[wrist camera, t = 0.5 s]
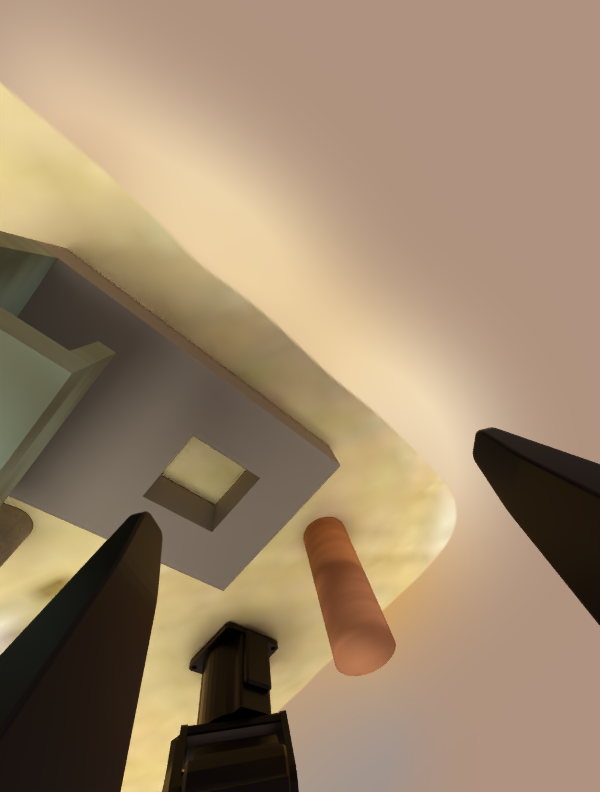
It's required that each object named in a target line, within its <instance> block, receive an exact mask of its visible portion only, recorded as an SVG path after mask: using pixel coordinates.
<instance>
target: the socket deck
mask: <svg viewBox="0 0 600 792" xmlns="http://www.w3.org/2000/svg"><path fill="white" fill-rule="evenodd" d="M34 241H35V242H37V243H38V244H40V245H41V246H42V247H44V248H45V249H46V250H48V251H49V252H50V253H52V254H53V255H55V256H56V257H57V260H56V261H55V263H54V264H53V266H52V267H51V268H50V270H49V271H48V273H47V274H46V276H45V277H44V279H43V280H42V282H41V283H40V284H39V286H38V287H37V289H36V290H35V292H34V293H33V295H32V296H31V298H30V299H29V301H28V302H27V303H26V305H25V306H24V308H23V309H22V311H21V312H20V314H19V315H18V317H17V318H19V319H20V320H22V321H24V322H25V323H27V324H28V325H30V326H31V327H33V328H34V329H36V330H38V331H39V332H41V333H42V334H44V335H45V336H47V337H49V338H50V339H52V340H53V341H55V342H56V343H58V344H59V345H61V346H63V347H64V348H66V349H67V350H69V351H71V350H74V349H77V348H80V347H83V346H86V345H89V344H92V343H95V342H98V341H99V342H101V343H102V344H104V345H105V346H107V347H108V348H110V349H111V350H112V351H114V352H115V353H116V354H115V355H114V356H113V358H112V359H111V360H110V362H109V363H108V364H107V366H106V367H105V368H104V370H103V371H102V372H101V374H100V375H99V376H98V378H97V379H96V380H95V381H94V383H93V384H92V385H91V387H90V388H89V389H88V391H87V392H86V393H85V395H84V396H83V397H82V399H81V400H80V401H79V403H78V404H77V405H76V407H75V408H74V409H73V411H72V412H71V413H70V415H69V416H68V417H67V419H66V420H65V421H64V423H63V424H62V425H61V427H60V428H59V429H58V431H57V432H56V433H55V435H54V436H53V437H52V439H51V440H50V441H49V443H48V444H47V445H46V446H45V448H44V449H43V450H42V452H41V453H40V454H39V456H38V457H37V458H36V460H35V461H34V462H33V464H32V465H31V466H30V468H29V469H28V470H27V472H26V473H25V474H24V476H23V477H22V478H21V480H20V481H19V482H18V484H17V485H16V486H15V488H14V489H13V490H12V492H11V493H10V494H9V496H10V497H13V498H15V499H17V500H19V501H22V502H24V503H26V504H28V505H31V506H33V507H35V508H37V509H40V510H42V511H44V512H46V513H49V514H51V515H53V516H55V517H58V518H60V519H62V520H64V521H67V522H69V523H71V524H73V525H76V526H78V527H80V528H82V529H85V530H87V531H89V532H92V533H94V534H96V535H98V536H101V537H103V538H105V539H107V540H108V539H109V538H110V537H111V535H112V534H113V533H114V532H115V531H116V530H117V529H118V528H119V527H120V526H121V525H122V524H123V522H124V521H125V520H126V519H127V518H128V517H129V516H131V515H132V514H136V513H140V512H144V511H147V512H149V513H150V514H151V515H152V517H153V518H154V520H155V521H156V523H157V524H158V526H159V528H160V529H161V531H162V536H163V541H162V552H161V564H164V565H166V566H168V567H170V568H173V569H175V570H177V571H180V572H182V573H184V574H186V575H189V576H191V577H193V578H195V579H198V580H200V581H202V582H204V583H207V584H209V585H211V586H213V587H216V588H218V589H220V590H222V591H224V590H225V589H226V588H227V587H228V585H229V584H230V583H231V582H232V581H233V580H234V579H235V578H236V577H237V576H238V575H239V574H240V573H241V572H242V570H243V569H244V568H245V567H246V566H247V565H248V564H249V563H250V562H251V561H252V560H253V559H254V558H255V557H256V555H257V554H258V553H259V552H260V551H261V550H262V549H263V548H264V547H265V546H266V545H267V544H268V543H269V542H270V540H271V539H272V538H273V537H274V536H275V535H276V534H277V533H278V532H279V531H280V530H281V529H282V528H283V527H284V525H285V524H286V523H287V522H288V521H289V520H290V519H291V518H292V517H293V516H294V515H295V514H296V513H297V512H298V510H299V509H300V508H301V507H302V506H303V505H304V504H305V503H306V502H307V501H308V500H309V499H310V498H311V497H312V495H313V494H314V493H315V492H316V491H317V490H318V489H319V488H320V487H321V486H322V485H323V484H324V483H325V482H326V480H327V479H328V478H329V477H330V476H331V475H332V474H333V473H334V472H335V471H336V470H337V469H338V468H339V467H340V464H339V462H338V461H337V459H336V457H335V455H334V454H333V452H332V450H331V449H330V447H329V446H328V445H327V444H325V443H324V442H323V441H321V440H320V439H319V438H317V437H316V436H315V435H313V434H312V433H311V432H309V431H308V430H307V429H305V428H304V427H303V426H301V425H300V424H299V423H297V422H296V421H295V420H293V419H292V418H291V417H289V416H288V415H287V414H285V413H284V412H283V411H281V410H280V409H279V408H277V407H276V406H275V405H273V404H272V403H271V402H269V401H268V400H267V399H265V398H264V397H263V396H262V395H260V394H259V393H258V392H256V391H255V390H254V389H252V388H251V387H250V386H248V385H247V384H246V383H244V382H243V381H242V380H240V379H239V378H238V377H236V376H235V375H234V374H232V373H231V372H230V371H228V370H227V369H226V368H224V367H223V366H222V365H220V364H219V363H218V362H216V361H215V360H214V359H212V358H211V357H210V356H208V355H207V354H206V353H204V352H203V351H202V350H200V349H199V348H198V347H196V346H195V345H194V344H192V343H191V342H190V341H188V340H187V339H186V338H184V337H183V336H182V335H180V334H179V333H178V332H176V331H175V330H174V329H172V328H171V327H170V326H169V325H167V324H166V323H165V322H163V321H162V320H161V319H159V318H158V317H157V316H155V315H154V314H153V313H151V312H150V311H149V310H147V309H146V308H145V307H143V306H142V305H141V304H139V303H138V302H137V301H135V300H134V299H133V298H131V297H130V296H129V295H127V294H126V293H125V292H123V291H122V290H121V289H119V288H118V287H117V286H115V285H114V284H113V283H111V282H110V281H109V280H107V279H106V278H105V277H103V276H102V275H101V274H99V273H98V272H97V271H95V270H94V269H93V268H91V267H90V266H89V265H87V264H86V263H85V262H83V261H82V260H81V259H80V258H78V257H77V256H76V255H74V254H73V253H72V252H70V251H69V250H68V249H66V248H62V247H59V246H55V245H51V244H47V243H43V242H40V241H36V240H34ZM192 436H195V437H196V438H198V439H199V440H201V441H202V442H204V443H206V444H207V445H209V446H210V447H212V448H214V449H215V450H217V451H218V452H220V453H221V454H223V455H225V456H226V457H228V458H229V459H231V460H233V461H234V462H236V463H237V464H239V465H240V466H242V467H244V468H245V469H247V470H246V471H245V472H244V474H243V475H242V476H241V477H240V478H239V479H238V480H237V481H236V483H235V484H234V485H233V486H232V487H231V488H230V489H229V491H228V492H227V493H226V494H225V495H224V496H223V497H222V498H221V500H220V501H219V502H218V503H217V504H216V505H213V504H212V503H210V502H208V501H206V500H204V499H203V498H201V497H199V496H197V495H195V494H194V493H192V492H190V491H188V490H186V489H185V488H183V487H181V486H179V485H177V484H175V483H174V482H172V481H170V480H168V479H166V478H165V477H163V476H161V474H162V472H163V471H164V470H165V469H166V468H167V466H168V465H169V464H170V463H171V462H172V460H173V459H174V458H175V457H176V456H177V454H178V453H179V452H180V451H181V450H182V448H183V447H184V446H185V445H186V444H187V442H188V441H189V440H190V439H191V438H192Z"/></svg>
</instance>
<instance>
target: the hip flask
mask: <svg viewBox="0 0 600 792" xmlns="http://www.w3.org/2000/svg"><path fill="white" fill-rule="evenodd" d="M32 529H33V523H32V520H31V518H30V517H29V516H28V515H27V514H26V513H25V512H24V511H22V510H20V509H17V508H15V507H12V506H9V505H6V504H2V505H1V506H0V567H1V566H2V565H3V563H4V562H5V561H6V560H7V559H8V558H9V557H10V556H11V554H12V553H13V552H14V551H15V550H16V549H17V548H18V547H19V545H20V544H21V543H22V542H23V541H24V540H25V539H26V537H27V536H28V535H29V534H30V533H31V531H32Z"/></svg>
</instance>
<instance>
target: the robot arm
mask: <svg viewBox="0 0 600 792" xmlns="http://www.w3.org/2000/svg"><path fill="white" fill-rule="evenodd" d="M473 457H474V460H475V462H476V463H477V465H478V467H479V468H480V470H481V471H482V472H483V474H484V476H485V477H486V478H487V480H488V482H489V483H490V485H491V486H492V488H493V489H494V491H495V493H496V494H497V496H498V497H499V499H500V500H501V502H502V503H503V505H504V506H505V508H506V509H507V510H508V512H509V513H510V514H511V516H512V517H513V518H514V519H515V521H516V522H517V523H518V524H519V526H520V527H521V528H522V529H523V531H524V532H525V533H526V534H527V536H528V537H529V538H530V539H531V541H532V542H533V543H534V544H535V546H536V547H537V548H538V549H539V551H540V552H541V553H542V554H543V556H544V557H545V558H546V559H547V560H548V562H549V563H550V564H551V565H552V567H553V568H554V569H555V570H556V572H557V573H558V574H559V575H560V577H561V578H562V579H563V580H564V582H565V583H566V584H567V585H568V587H569V588H570V589H571V590H572V591H573V593H574V594H575V595H576V597H577V598H578V599H579V600H580V602H581V603H582V604H583V605H584V607H585V608H586V609H587V610H588V611H589V613H590V614H591V615H592V616H593V618H594V619H595V620H596V622H597V623H598V624H599V625H600V464H598V463H595V462H592V461H589V460H586V459H583V458H581V457H578V456H575V455H571V454H569V453H566V452H563V451H560V450H558V449H554V448H552V447H549V446H546V445H543V444H540V443H537V442H534V441H532V440H528V439H526V438H523V437H520V436H517V435H514V434H511V433H509V432H506V431H503V430H500V429H497V428H492V427H491V428H486V429H482V430H479V431H477V433H476V435H475V442H474V449H473ZM162 541H163V536H162V531H161V529H160V528H159V526H158V524H157V523H156V521H155V520H154V518H153V517H152V515H151V514H150V513H149V512H147V511H144V512H140V513H136V514H132V515H131V516H129V517H128V518H127V519H126V520H125V521H124V522H123V524H122V525H121V526H120V527H119V528H118V529H117V530H116V531H115V532H114V533H113V534H112V535H111V537H110V538H109V539H108V540H107V541H106V542H105V543H104V544H103V545H102V546H101V547H100V548H99V549H98V551H97V552H96V553H95V554H94V555H93V556H92V557H91V558H90V559H89V560H88V561H87V562H86V563H85V565H84V566H83V567H82V568H81V569H80V570H79V571H78V572H77V573H76V574H75V575H74V576H73V577H72V579H71V580H70V581H69V582H68V583H67V584H66V585H65V586H64V587H63V588H62V589H61V590H60V592H59V593H58V594H57V595H56V596H55V597H54V598H53V599H52V600H51V601H50V602H49V603H48V604H47V606H46V607H45V608H44V609H43V610H42V611H41V612H40V613H39V614H38V615H37V616H36V617H35V618H34V620H33V621H32V622H31V623H30V624H29V625H28V626H27V627H26V628H25V629H24V630H23V631H22V632H21V634H20V635H19V636H18V637H17V638H16V639H15V640H14V641H13V642H12V643H11V644H10V645H9V646H8V648H7V649H6V650H5V651H4V652H3V653H2V654H1V655H0V792H121V786H122V781H123V776H124V771H125V765H126V760H127V755H128V750H129V745H130V739H131V734H132V729H133V724H134V719H135V713H136V708H137V703H138V698H139V693H140V687H141V682H142V677H143V672H144V667H145V661H146V656H147V651H148V646H149V640H150V635H151V630H152V625H153V620H154V614H155V609H156V603H157V596H158V586H159V575H160V564H161V552H162ZM277 649H278V643H277V641H275V640H272V639H270V638H267V637H265V636H262V635H260V634H257V633H255V632H252V631H250V630H248V629H245V628H243V627H240V626H238V625H235V624H233V623H228V624H226V625H225V626H224V627H223V628H222V629H221V630H220V631H219V632H218V633H217V634H216V635H215V636H214V638H213V639H212V640H211V641H210V642H209V643H208V644H207V645H206V646H205V647H204V648H203V649H202V650H201V651H200V652H199V653H198V654H197V655H196V656H195V657H194V658H193V660H192V661H191V662H190V666H189V669H190V670H191V671H194V672H197V673H201V674H202V681H201V691H200V701H199V710H198V720H197V725H192V726H188V725H181V730H180V735H178V737H177V738H175V739H174V740H172V741H171V746H170V752H169V758H168V765H167V770H166V776H165V780H164V785H163V790H162V792H299V791H298V779H297V771H296V764H295V759H294V753H293V748H292V742H291V736H290V731H289V725H288V719H287V714H286V710H284V711H280V712H279V713H274V714H271V703H270V690H271V675H270V662H269V657H270V656H271V655H272V654H273V653H274V652H275V651H276V650H277Z"/></svg>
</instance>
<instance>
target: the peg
mask: <svg viewBox="0 0 600 792" xmlns="http://www.w3.org/2000/svg"><path fill="white" fill-rule="evenodd" d="M304 543H305V547H306V551H307V555H308V559H309V563H310V567H311V571H312V575H313V579H314V583H315V587H316V591H317V595H318V599H319V603H320V607H321V611H322V615H323V618H324V622H325V626H326V630H327V634H328V638H329V642H330V646H331V650H332V654H333V658H334V661H335V666H336V668H337V669H338V671H339V672H341V673H343V674H345V675H349V676H360V675H365V674H368V673H371V672H373V671H375V670H377V669H379V668H381V667H382V666H383V665H384V664H386V663H387V662H388V661H389V659H390V658H391V657H392V655H393V654H394V651H395V647H396V643H395V640H394V638H393V636H392V633H391V631H390V629H389V626H388V624H387V622H386V620H385V618H384V615H383V613H382V611H381V608H380V606H379V604H378V602H377V599H376V597H375V595H374V593H373V590H372V588H371V586H370V584H369V581H368V579H367V577H366V574H365V572H364V570H363V568H362V565H361V563H360V561H359V559H358V556H357V554H356V552H355V550H354V547H353V545H352V543H351V541H350V538H349V536H348V534H347V532H346V529H345V527H344V525H343V523H342V522H341V521H340V520H338V519H336V518H333V517H324V518H320V519H317V520H315V521H314V522H312V523H311V524H310V525H309V526H308V527H307V529H306V530H305V533H304Z"/></svg>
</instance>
